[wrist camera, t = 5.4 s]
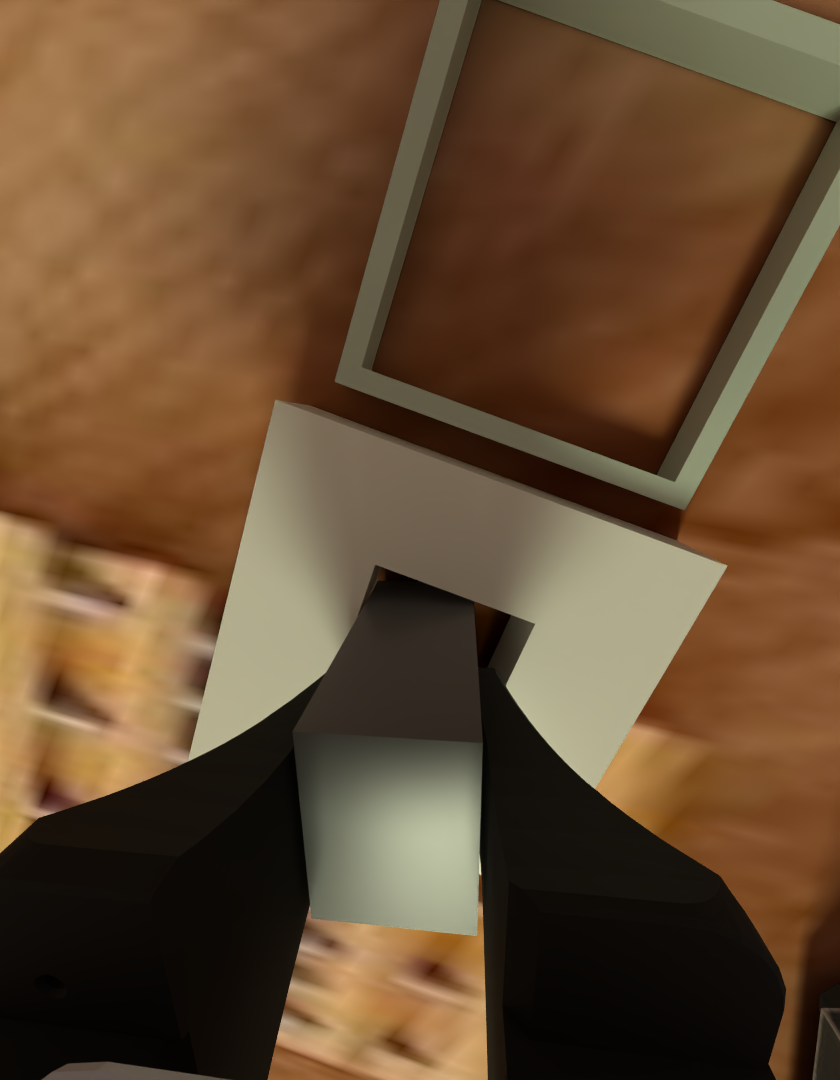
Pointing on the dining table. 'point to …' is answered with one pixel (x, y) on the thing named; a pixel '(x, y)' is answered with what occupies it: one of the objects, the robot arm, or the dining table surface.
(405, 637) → the plug
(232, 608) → the socket
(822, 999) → the voltmeter
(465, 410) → the pale green square frame
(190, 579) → the dining table surface
